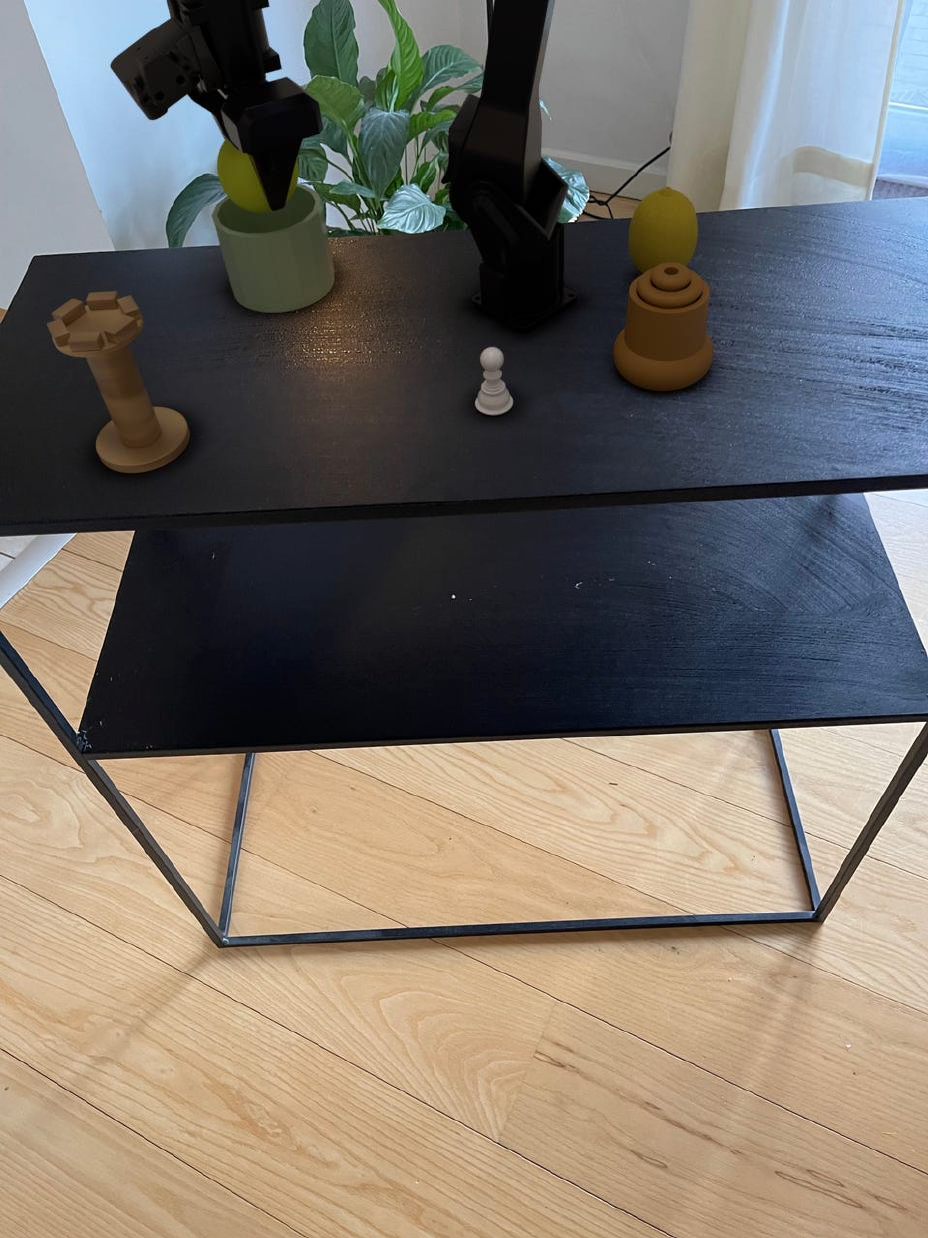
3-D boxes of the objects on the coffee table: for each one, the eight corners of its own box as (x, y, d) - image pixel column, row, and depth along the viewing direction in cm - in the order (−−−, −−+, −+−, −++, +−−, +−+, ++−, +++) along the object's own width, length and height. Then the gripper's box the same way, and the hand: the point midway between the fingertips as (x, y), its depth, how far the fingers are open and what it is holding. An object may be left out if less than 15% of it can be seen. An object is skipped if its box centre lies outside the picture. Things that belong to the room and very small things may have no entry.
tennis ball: (263, 182, 84) (198, 143, 79) (311, 135, 80) (245, 91, 75) (269, 241, 82) (203, 205, 77) (318, 195, 78) (251, 155, 73)
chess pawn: (512, 392, 74) (510, 335, 70) (513, 415, 72) (511, 358, 69) (475, 393, 74) (471, 337, 70) (475, 417, 73) (471, 360, 69)
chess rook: (111, 416, 76) (56, 290, 67) (197, 412, 75) (153, 284, 67) (89, 475, 71) (28, 348, 63) (180, 471, 71) (131, 342, 63)
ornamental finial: (594, 376, 75) (642, 327, 78) (682, 408, 72) (728, 355, 75) (598, 282, 69) (649, 233, 72) (695, 311, 65) (744, 259, 69)
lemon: (690, 300, 80) (701, 206, 74) (622, 296, 81) (628, 203, 75) (694, 264, 84) (705, 171, 78) (628, 261, 85) (634, 169, 79)
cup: (244, 258, 89) (224, 183, 84) (340, 255, 89) (327, 179, 83) (223, 314, 84) (201, 237, 78) (327, 311, 83) (311, 233, 78)
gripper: (67, -34, 71) (137, 176, 83) (137, 44, 60) (206, 274, 72) (212, -68, 74) (259, 140, 86) (304, 1, 63) (343, 229, 75)
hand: (263, 192), depth 80 cm, fingers closed on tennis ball, 6 cm apart
